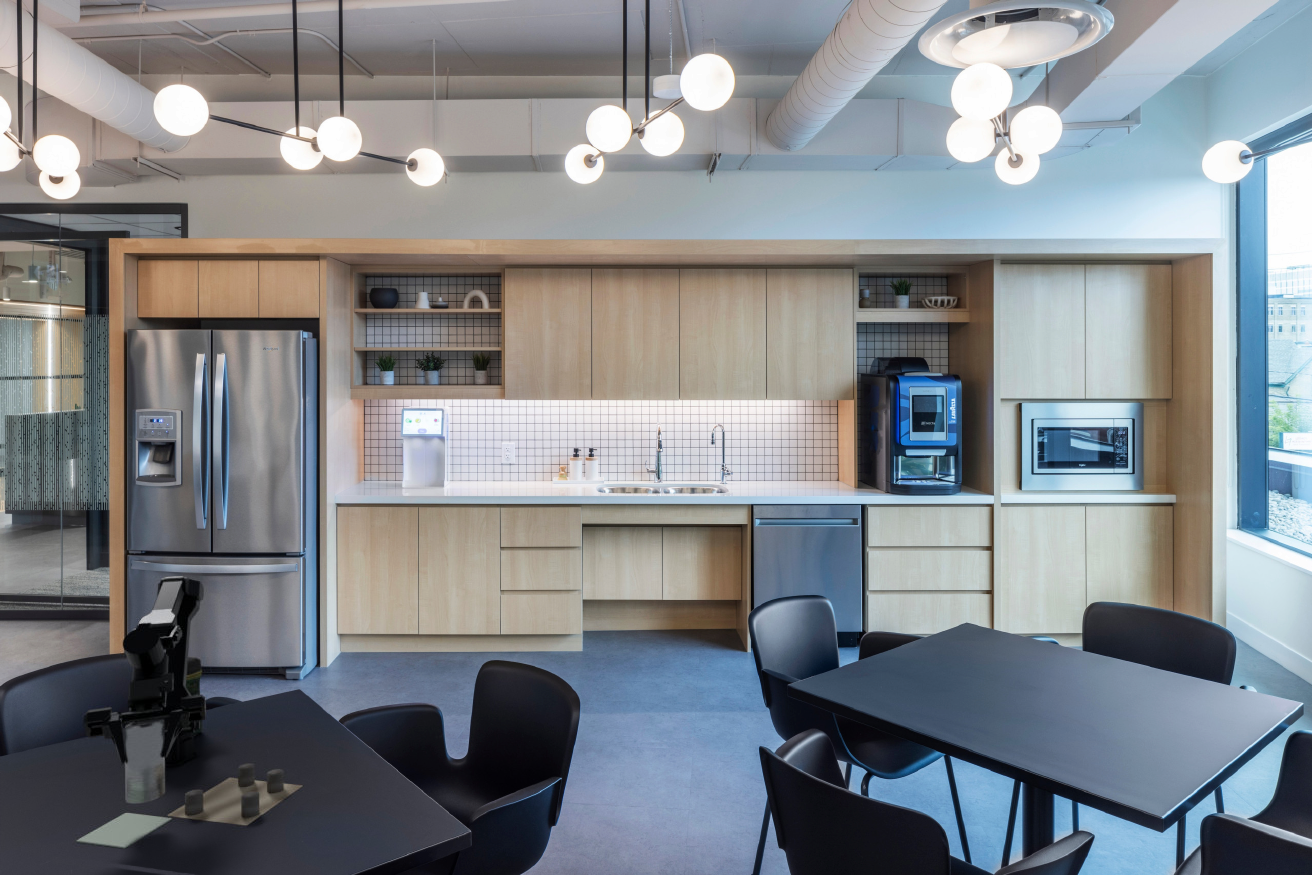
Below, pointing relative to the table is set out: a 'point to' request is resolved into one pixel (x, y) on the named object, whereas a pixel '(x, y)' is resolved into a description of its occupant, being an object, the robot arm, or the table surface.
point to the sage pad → (124, 830)
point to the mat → (237, 798)
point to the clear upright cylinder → (144, 760)
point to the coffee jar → (194, 681)
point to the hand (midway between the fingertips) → (144, 760)
